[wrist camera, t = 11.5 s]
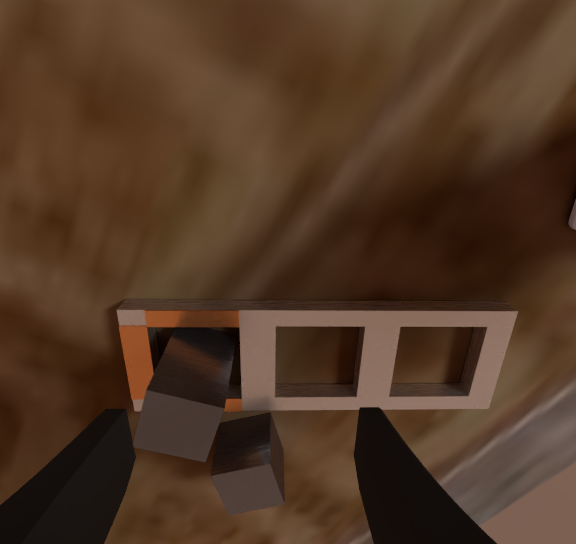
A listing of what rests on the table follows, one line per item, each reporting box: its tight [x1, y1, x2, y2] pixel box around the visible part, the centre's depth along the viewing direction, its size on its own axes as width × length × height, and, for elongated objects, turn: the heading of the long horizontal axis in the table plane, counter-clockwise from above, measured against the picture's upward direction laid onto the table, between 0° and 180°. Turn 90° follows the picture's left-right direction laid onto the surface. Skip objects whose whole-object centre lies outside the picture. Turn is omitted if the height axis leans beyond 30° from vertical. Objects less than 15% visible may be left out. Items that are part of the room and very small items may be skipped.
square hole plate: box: [117, 300, 518, 412], centre depth 22 cm, size 22×7×1 cm, turn 89°
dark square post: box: [133, 327, 237, 462], centre depth 20 cm, size 4×4×6 cm
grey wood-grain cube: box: [211, 412, 285, 515], centre depth 24 cm, size 4×4×4 cm
